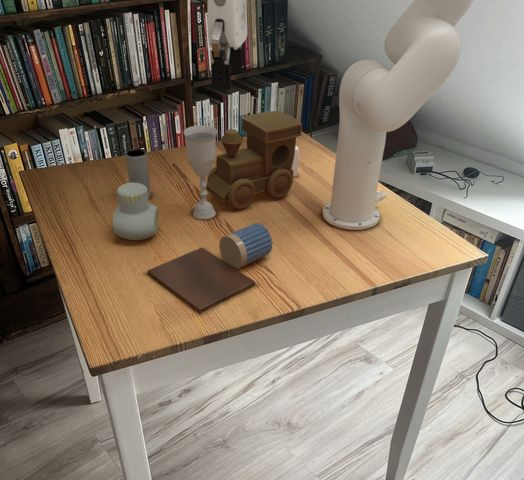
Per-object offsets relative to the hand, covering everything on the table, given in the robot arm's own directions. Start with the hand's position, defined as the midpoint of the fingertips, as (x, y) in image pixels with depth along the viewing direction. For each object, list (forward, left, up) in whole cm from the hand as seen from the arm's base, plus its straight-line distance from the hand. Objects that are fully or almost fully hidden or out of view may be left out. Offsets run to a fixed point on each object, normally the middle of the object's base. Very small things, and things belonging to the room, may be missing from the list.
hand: (227, 80), depth 99 cm
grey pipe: (+5, -26, -30) cm, 40 cm away
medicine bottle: (-29, -15, -30) cm, 44 cm away
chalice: (-1, -10, -30) cm, 32 cm away
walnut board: (+16, +10, -30) cm, 35 cm away
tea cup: (+5, +10, -30) cm, 32 cm away
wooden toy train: (-15, -10, -30) cm, 35 cm away
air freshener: (+15, -12, -30) cm, 36 cm away
